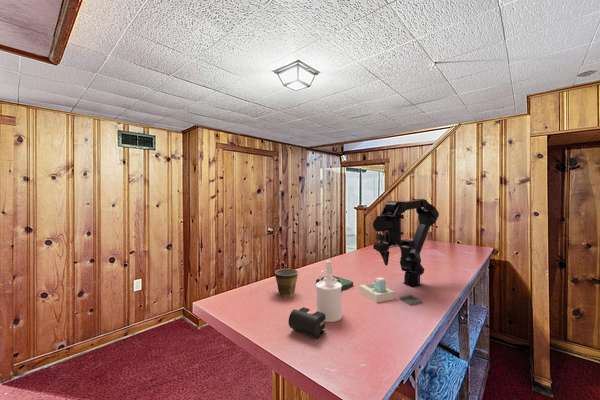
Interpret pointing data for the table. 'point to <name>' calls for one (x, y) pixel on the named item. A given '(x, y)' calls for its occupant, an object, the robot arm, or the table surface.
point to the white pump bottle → (329, 296)
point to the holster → (410, 299)
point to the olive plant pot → (286, 281)
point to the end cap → (307, 322)
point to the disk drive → (344, 282)
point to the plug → (380, 285)
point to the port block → (376, 293)
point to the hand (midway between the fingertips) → (394, 264)
